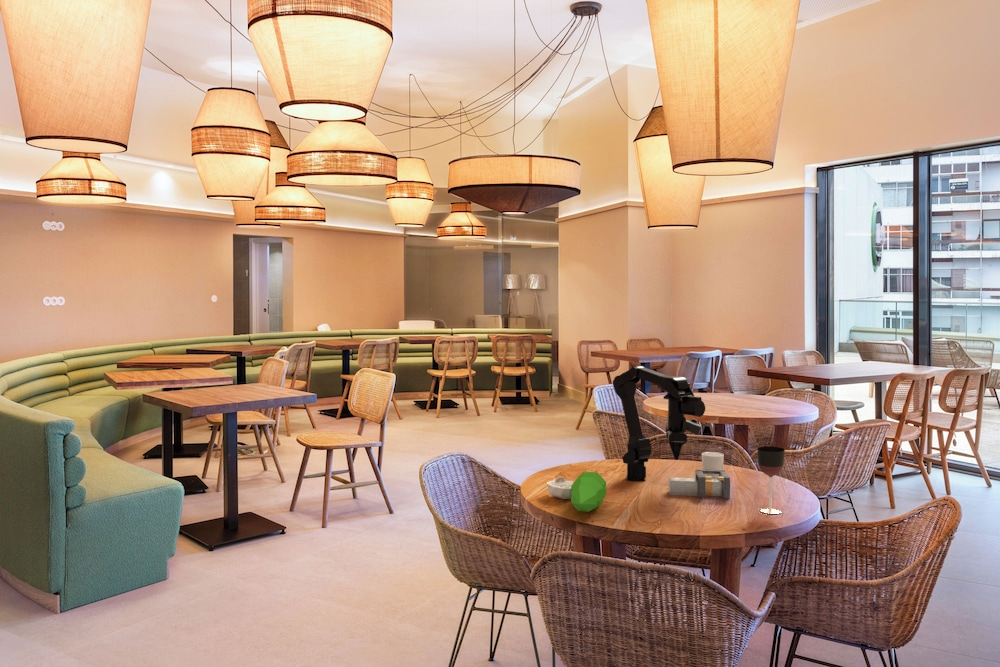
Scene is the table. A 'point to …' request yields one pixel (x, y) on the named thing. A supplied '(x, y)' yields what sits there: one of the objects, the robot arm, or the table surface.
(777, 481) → the table surface
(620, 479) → the table surface
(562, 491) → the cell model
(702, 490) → the grey c-shaped bracket
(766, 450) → the wineglass
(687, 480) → the grey rectangular bar
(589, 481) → the decorative tree
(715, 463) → the white cup
